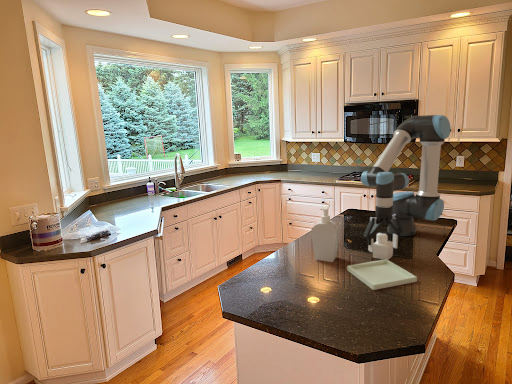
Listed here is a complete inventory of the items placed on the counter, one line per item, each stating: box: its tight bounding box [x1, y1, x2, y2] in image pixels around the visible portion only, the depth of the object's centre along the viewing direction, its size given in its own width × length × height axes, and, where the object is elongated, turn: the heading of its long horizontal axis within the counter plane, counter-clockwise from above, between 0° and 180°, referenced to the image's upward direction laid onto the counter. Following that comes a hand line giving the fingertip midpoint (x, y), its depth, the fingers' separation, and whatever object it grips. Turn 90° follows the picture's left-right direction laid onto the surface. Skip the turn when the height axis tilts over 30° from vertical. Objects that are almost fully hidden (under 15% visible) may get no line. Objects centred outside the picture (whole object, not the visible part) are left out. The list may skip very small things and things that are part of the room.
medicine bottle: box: [372, 231, 394, 261], centre depth 171 cm, size 7×7×12 cm
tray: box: [346, 259, 418, 291], centre depth 152 cm, size 20×20×2 cm
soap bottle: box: [310, 204, 342, 263], centre depth 171 cm, size 12×10×26 cm
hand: (382, 249), depth 171 cm, fingers open, 12 cm apart
